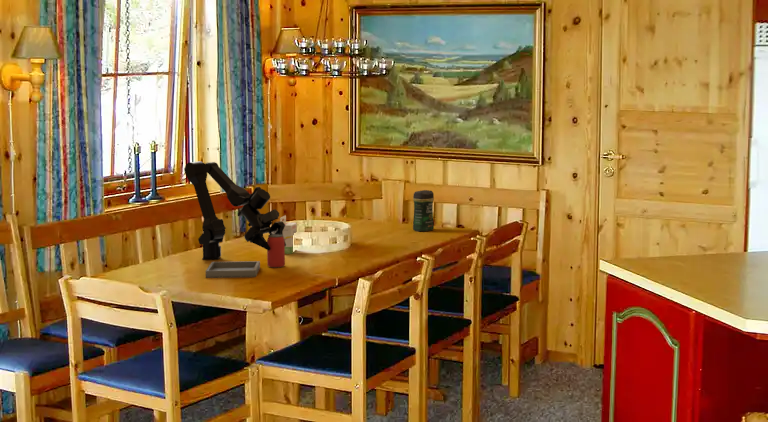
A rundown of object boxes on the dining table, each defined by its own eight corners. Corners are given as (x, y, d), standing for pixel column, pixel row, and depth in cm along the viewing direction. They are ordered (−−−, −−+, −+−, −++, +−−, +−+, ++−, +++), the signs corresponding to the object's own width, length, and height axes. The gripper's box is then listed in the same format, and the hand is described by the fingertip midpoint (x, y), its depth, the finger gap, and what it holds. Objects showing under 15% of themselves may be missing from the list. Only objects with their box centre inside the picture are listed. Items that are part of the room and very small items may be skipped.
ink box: (291, 254, 422) (290, 218, 420) (279, 253, 423) (279, 217, 421) (297, 250, 431) (296, 215, 429) (286, 250, 432) (285, 214, 430)
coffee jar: (423, 232, 474) (423, 191, 471) (410, 230, 479) (410, 190, 477) (436, 229, 481) (436, 189, 479) (423, 228, 486) (423, 188, 484)
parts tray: (205, 277, 376) (205, 271, 375) (212, 268, 393) (211, 261, 393) (255, 277, 376) (255, 270, 376) (260, 267, 394) (259, 261, 394)
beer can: (271, 268, 392) (270, 237, 390) (265, 265, 397) (264, 234, 396) (287, 267, 395) (286, 235, 393) (281, 264, 400) (280, 233, 399)
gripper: (249, 206, 388) (273, 237, 383) (280, 200, 403) (304, 230, 398) (233, 225, 393) (257, 256, 388) (265, 219, 408) (288, 249, 404)
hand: (277, 247), depth 395 cm, fingers open, 9 cm apart
